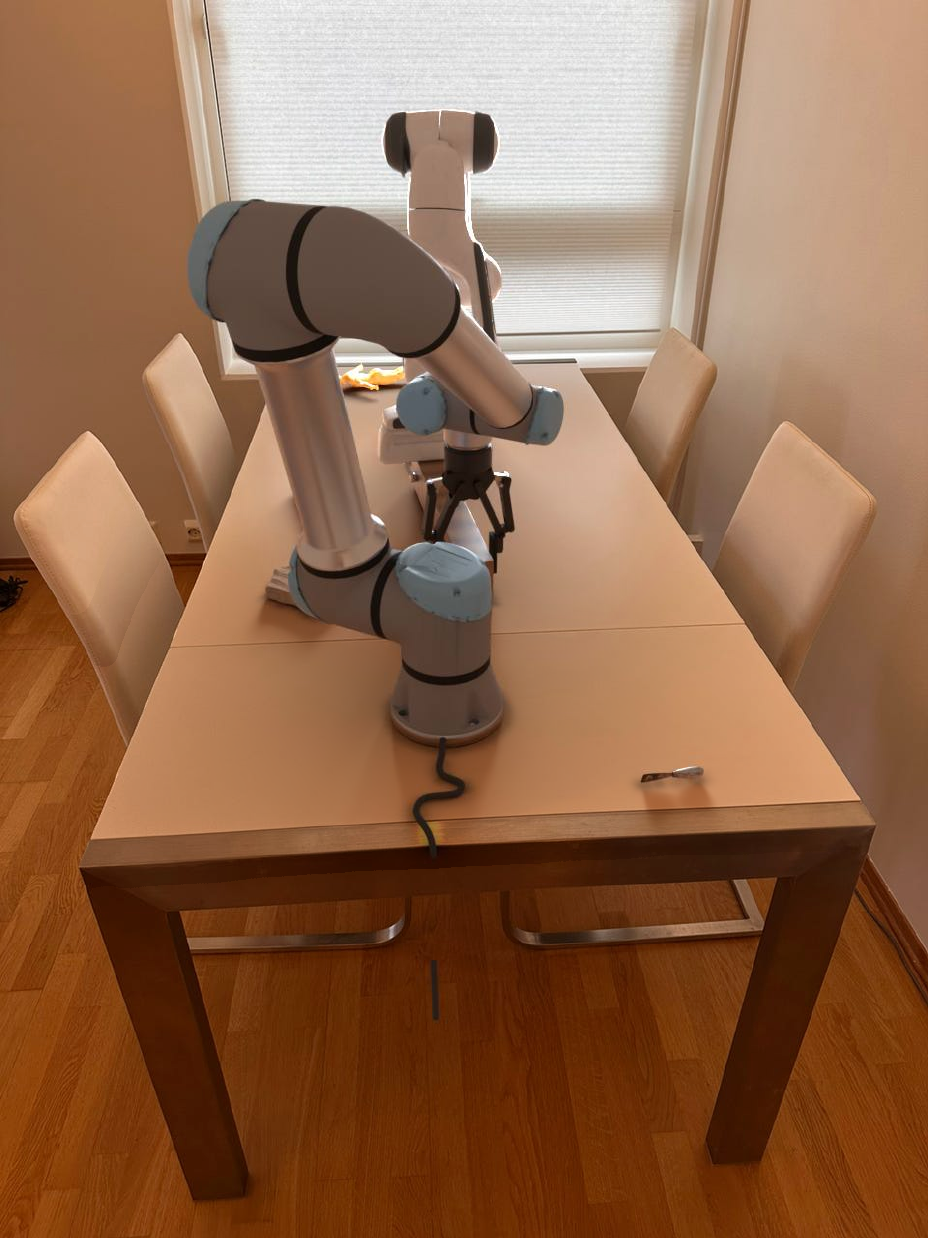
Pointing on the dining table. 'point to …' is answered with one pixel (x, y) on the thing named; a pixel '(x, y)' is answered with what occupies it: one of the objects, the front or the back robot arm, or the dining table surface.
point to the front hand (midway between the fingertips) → (468, 572)
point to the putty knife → (674, 774)
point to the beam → (462, 521)
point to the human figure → (371, 377)
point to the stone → (280, 586)
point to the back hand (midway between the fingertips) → (430, 479)
